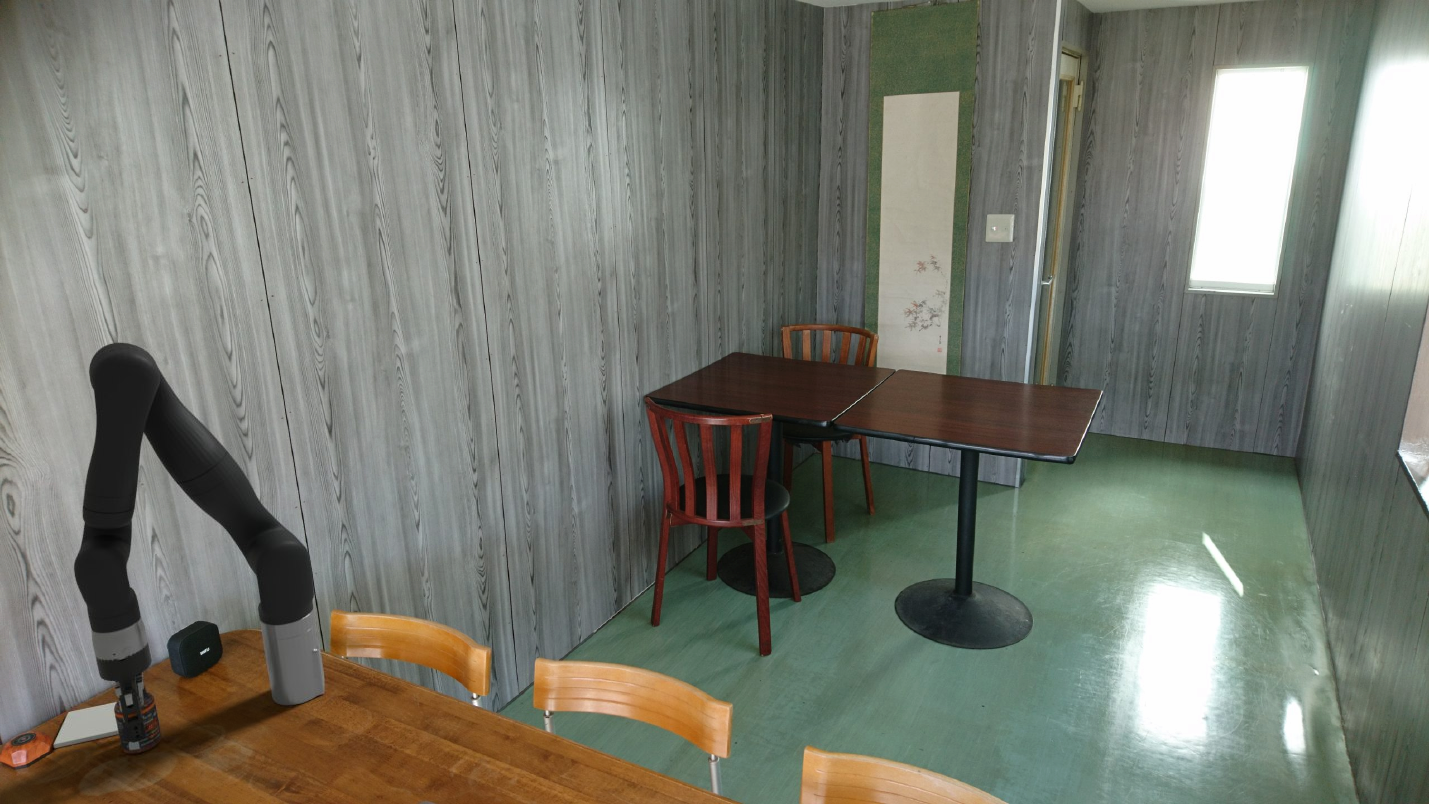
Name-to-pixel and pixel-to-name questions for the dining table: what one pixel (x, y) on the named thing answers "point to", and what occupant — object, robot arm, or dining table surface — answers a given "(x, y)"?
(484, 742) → the dining table surface
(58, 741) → the coaster
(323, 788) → the dining table surface
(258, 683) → the dining table surface
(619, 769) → the dining table surface
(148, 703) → the supplement bottle
